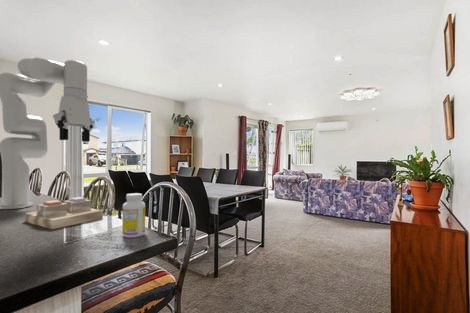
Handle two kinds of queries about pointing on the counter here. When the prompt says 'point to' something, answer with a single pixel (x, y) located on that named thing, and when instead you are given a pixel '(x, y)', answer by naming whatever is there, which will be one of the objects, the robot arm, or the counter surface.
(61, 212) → the key panel
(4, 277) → the counter surface
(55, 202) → the terracotta key
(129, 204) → the supplement bottle
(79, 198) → the pale grey key
